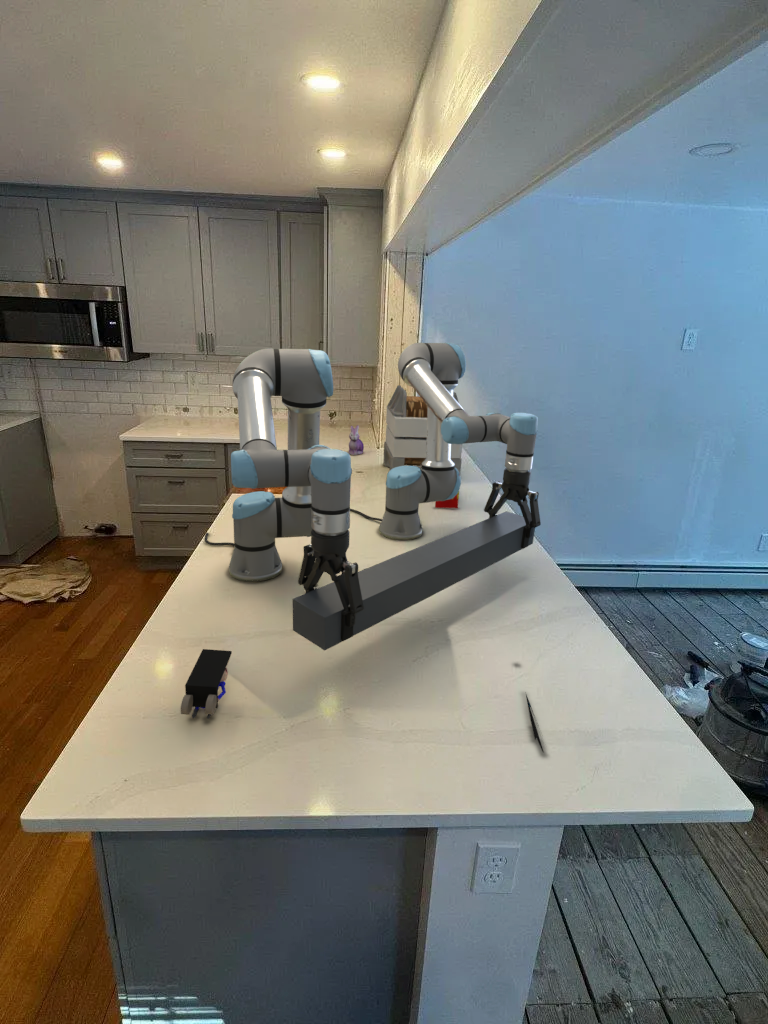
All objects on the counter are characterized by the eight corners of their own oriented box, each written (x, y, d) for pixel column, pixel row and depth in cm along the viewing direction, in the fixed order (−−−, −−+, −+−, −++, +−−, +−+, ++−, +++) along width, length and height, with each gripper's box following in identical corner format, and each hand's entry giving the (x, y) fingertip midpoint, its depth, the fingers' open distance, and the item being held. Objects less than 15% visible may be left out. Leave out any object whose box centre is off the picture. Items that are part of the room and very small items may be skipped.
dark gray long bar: (503, 533, 175) (506, 511, 172) (532, 543, 168) (536, 520, 166) (292, 630, 118) (292, 598, 116) (324, 650, 112) (325, 617, 109)
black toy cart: (217, 731, 106) (235, 675, 120) (214, 701, 103) (232, 647, 116) (181, 730, 106) (203, 674, 119) (176, 700, 103) (199, 646, 116)
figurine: (351, 455, 300) (352, 427, 295) (343, 451, 309) (344, 424, 304) (367, 454, 304) (368, 426, 299) (359, 450, 313) (360, 423, 308)
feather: (517, 669, 129) (522, 662, 128) (543, 757, 102) (550, 750, 102) (511, 665, 129) (516, 659, 128) (535, 752, 102) (542, 745, 101)
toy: (452, 466, 252) (464, 476, 223) (451, 496, 255) (462, 509, 226) (425, 465, 252) (433, 475, 222) (424, 495, 254) (431, 508, 225)
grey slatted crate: (382, 463, 289) (386, 382, 275) (445, 464, 293) (451, 384, 279) (390, 482, 257) (394, 392, 243) (460, 483, 261) (468, 394, 247)
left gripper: (279, 517, 116) (281, 613, 123) (356, 552, 101) (353, 658, 109) (308, 509, 121) (308, 601, 128) (385, 541, 106) (380, 643, 114)
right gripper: (476, 462, 164) (469, 533, 172) (547, 480, 150) (536, 557, 157) (491, 458, 169) (483, 527, 177) (561, 475, 155) (549, 550, 163)
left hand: (329, 627), depth 119 cm, fingers closed on dark gray long bar, 10 cm apart
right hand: (508, 541), depth 167 cm, fingers closed on dark gray long bar, 10 cm apart
